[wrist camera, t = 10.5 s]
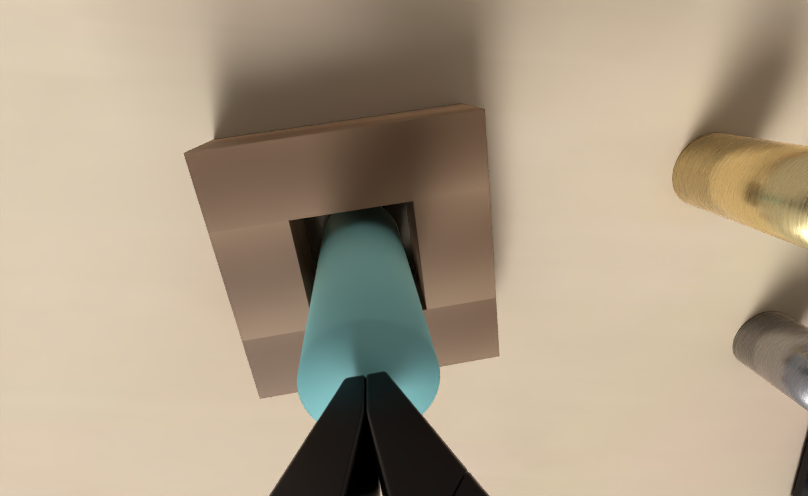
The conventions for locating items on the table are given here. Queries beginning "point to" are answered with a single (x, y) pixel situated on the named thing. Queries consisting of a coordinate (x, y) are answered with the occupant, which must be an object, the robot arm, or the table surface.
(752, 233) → the table surface
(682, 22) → the table surface
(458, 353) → the hole block
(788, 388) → the pin short
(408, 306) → the pin long
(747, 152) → the pin medium
